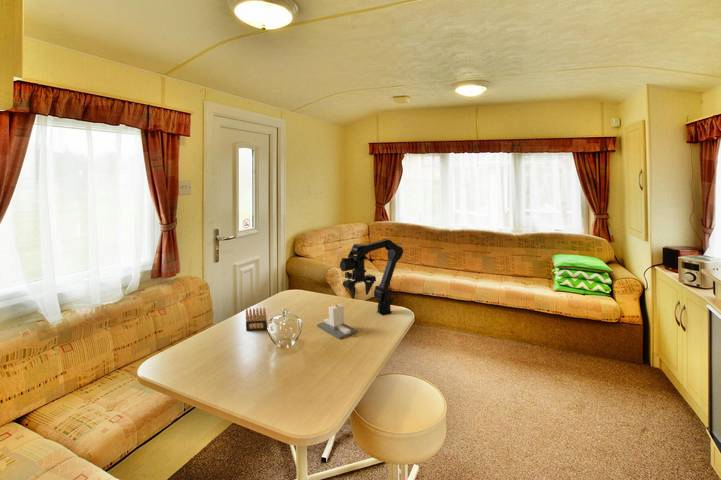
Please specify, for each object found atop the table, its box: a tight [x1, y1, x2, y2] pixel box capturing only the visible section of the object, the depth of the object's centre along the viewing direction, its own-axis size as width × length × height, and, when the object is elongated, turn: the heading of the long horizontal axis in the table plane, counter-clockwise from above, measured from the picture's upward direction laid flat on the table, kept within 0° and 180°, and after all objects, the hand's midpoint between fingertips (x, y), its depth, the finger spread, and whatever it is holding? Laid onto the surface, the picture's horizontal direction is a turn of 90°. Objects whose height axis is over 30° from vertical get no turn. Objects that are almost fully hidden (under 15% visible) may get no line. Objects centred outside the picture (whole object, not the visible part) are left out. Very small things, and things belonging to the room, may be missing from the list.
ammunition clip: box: [245, 307, 268, 332], centre depth 175 cm, size 11×2×12 cm, turn 93°
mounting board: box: [316, 317, 358, 340], centre depth 174 cm, size 20×11×3 cm, turn 39°
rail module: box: [328, 303, 345, 330], centre depth 173 cm, size 6×4×12 cm, turn 128°
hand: (360, 296), depth 183 cm, fingers open, 9 cm apart
